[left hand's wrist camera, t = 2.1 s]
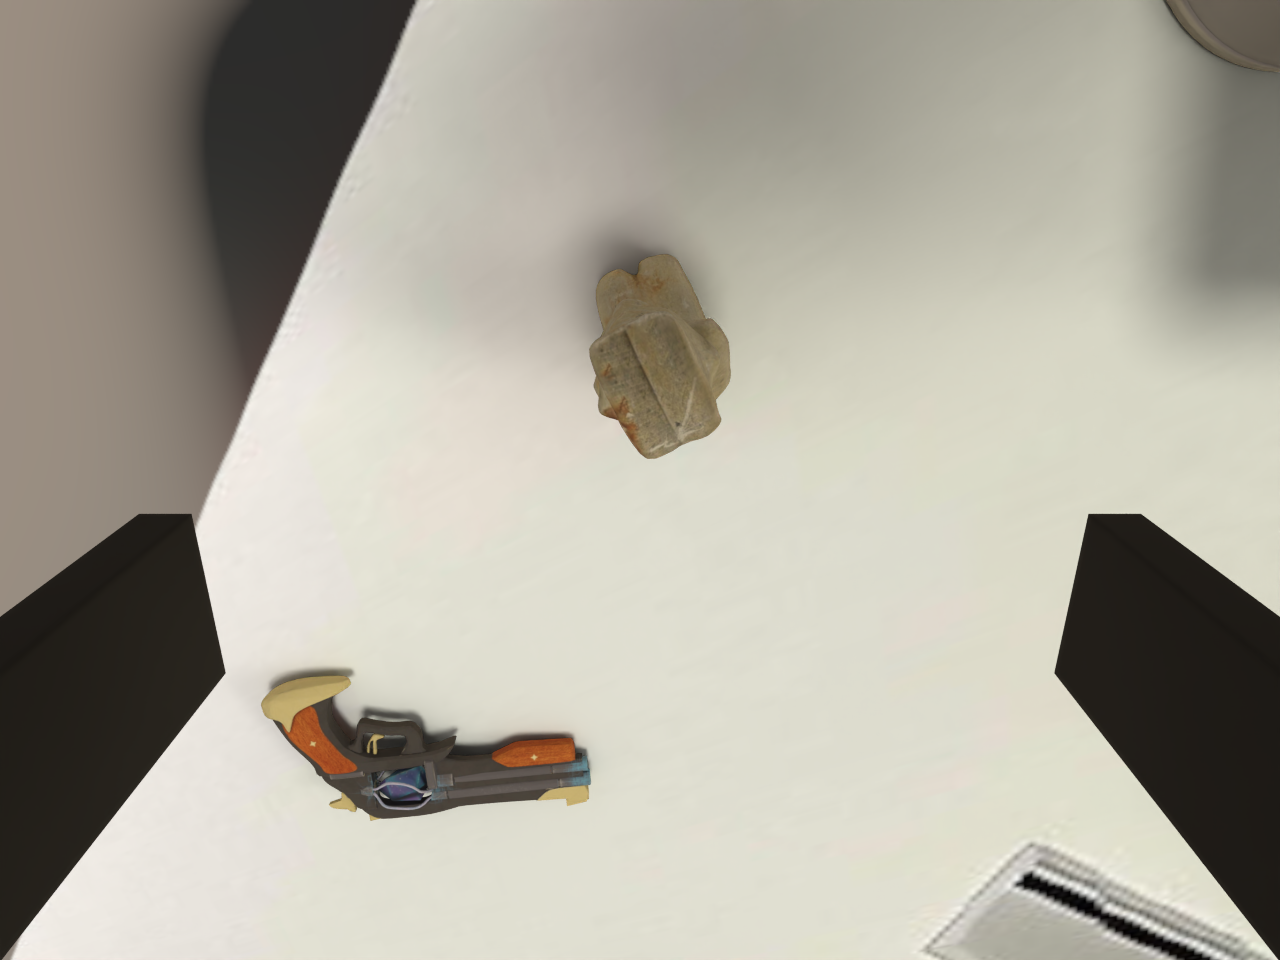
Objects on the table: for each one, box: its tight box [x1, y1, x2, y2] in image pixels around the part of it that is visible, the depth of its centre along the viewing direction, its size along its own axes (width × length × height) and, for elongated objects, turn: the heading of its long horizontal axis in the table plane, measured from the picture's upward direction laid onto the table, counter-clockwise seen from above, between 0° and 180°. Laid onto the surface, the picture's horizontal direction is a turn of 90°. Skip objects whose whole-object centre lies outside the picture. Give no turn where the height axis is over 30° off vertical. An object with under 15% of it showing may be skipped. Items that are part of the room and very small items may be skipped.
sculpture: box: [589, 254, 731, 459], centre depth 36 cm, size 6×7×15 cm
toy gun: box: [261, 676, 591, 821], centre depth 52 cm, size 3×19×10 cm
